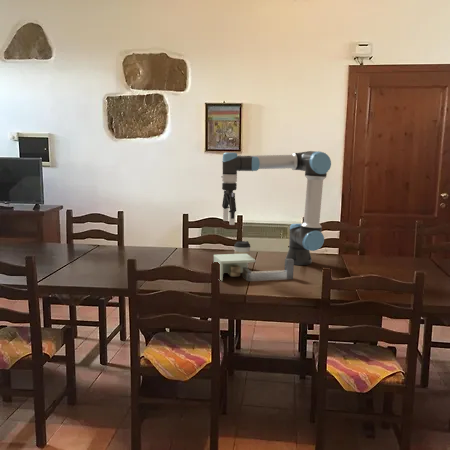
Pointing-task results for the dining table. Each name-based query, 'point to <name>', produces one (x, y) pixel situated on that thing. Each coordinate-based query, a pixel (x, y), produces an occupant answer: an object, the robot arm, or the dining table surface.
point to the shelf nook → (232, 262)
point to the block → (234, 270)
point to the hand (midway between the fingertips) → (228, 222)
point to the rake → (270, 273)
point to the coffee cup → (242, 248)
